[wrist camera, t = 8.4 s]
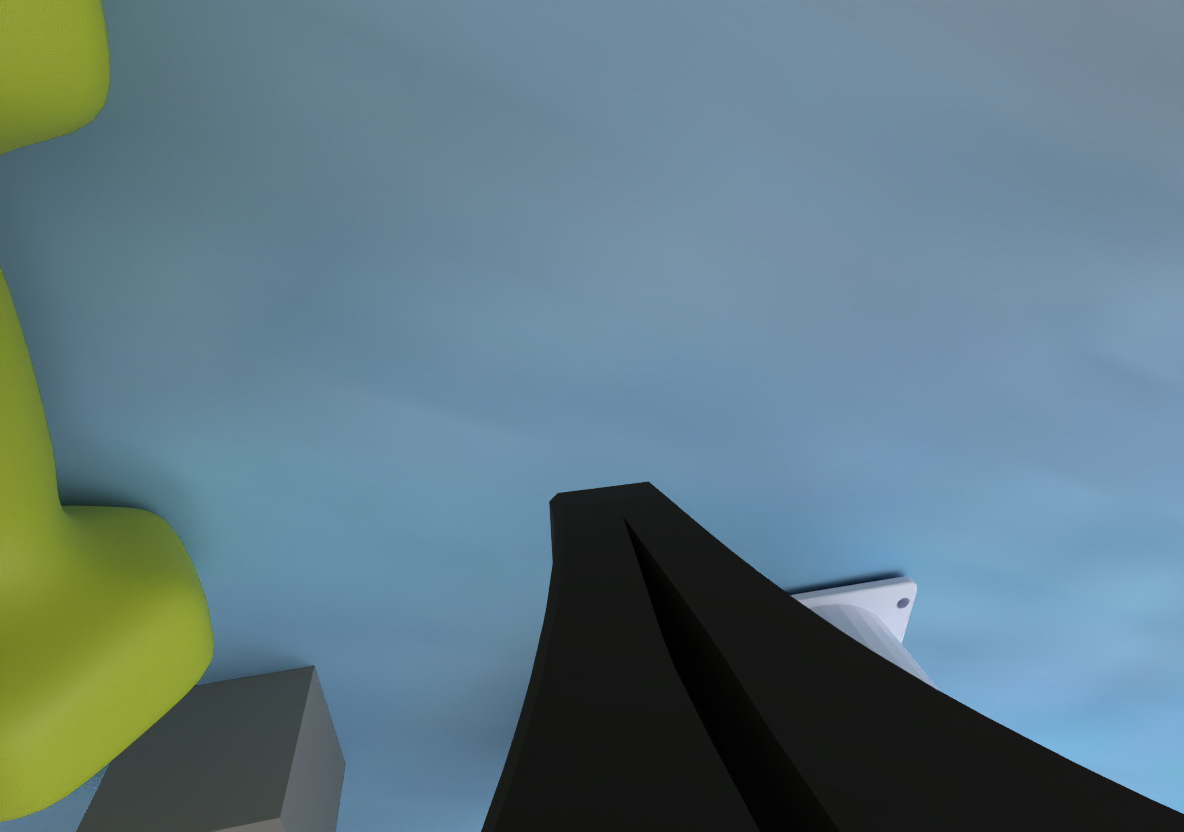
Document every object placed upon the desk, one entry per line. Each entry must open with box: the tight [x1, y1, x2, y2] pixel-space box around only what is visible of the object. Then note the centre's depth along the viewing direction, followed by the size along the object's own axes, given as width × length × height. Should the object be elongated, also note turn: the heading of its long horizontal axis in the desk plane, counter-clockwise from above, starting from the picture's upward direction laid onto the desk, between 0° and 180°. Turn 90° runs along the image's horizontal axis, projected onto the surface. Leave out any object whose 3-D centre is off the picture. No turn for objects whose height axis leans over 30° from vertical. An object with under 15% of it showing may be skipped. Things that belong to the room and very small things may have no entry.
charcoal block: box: [76, 666, 345, 832], centre depth 19 cm, size 5×5×5 cm
